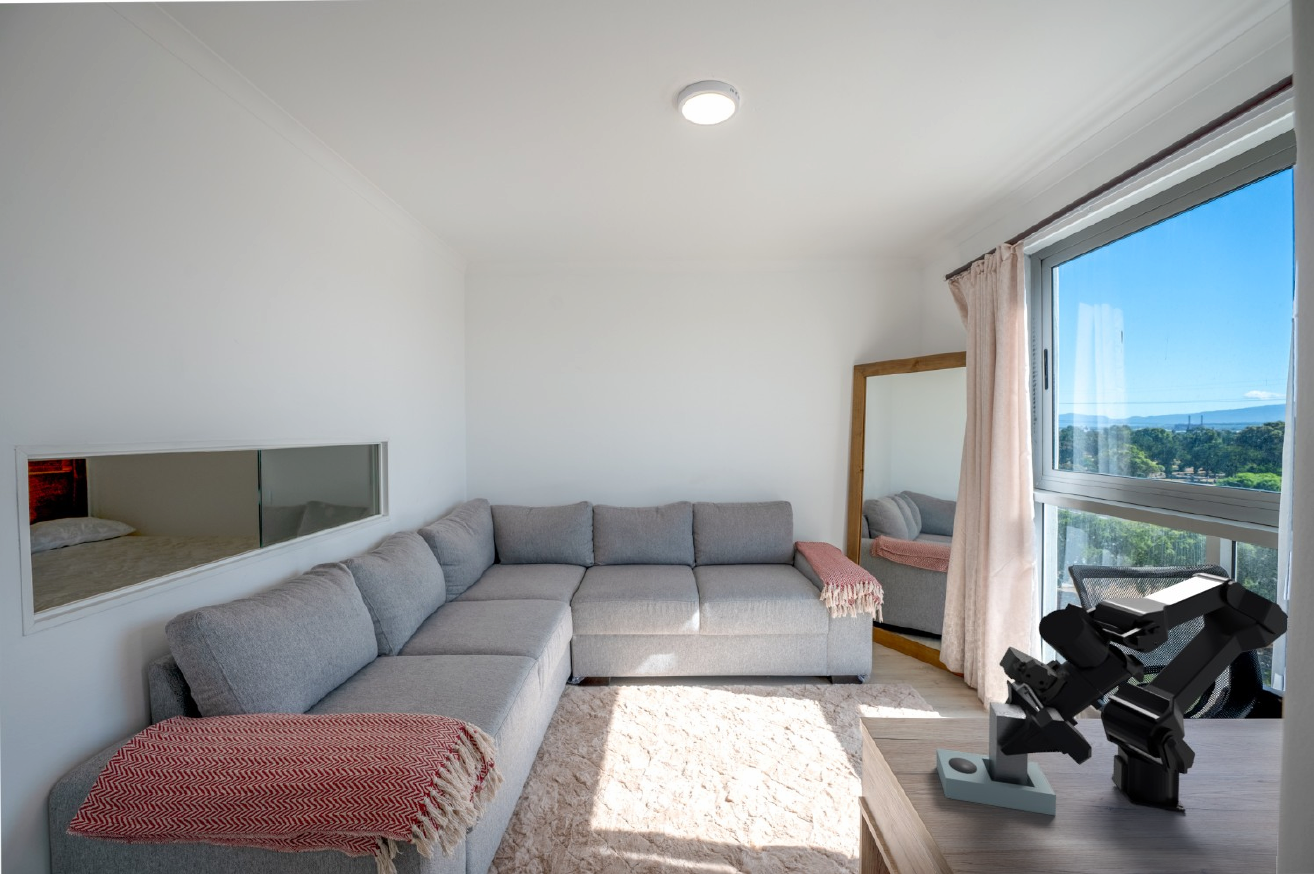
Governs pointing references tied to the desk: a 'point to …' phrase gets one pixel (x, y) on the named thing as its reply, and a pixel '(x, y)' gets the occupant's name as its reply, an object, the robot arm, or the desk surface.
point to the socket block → (992, 783)
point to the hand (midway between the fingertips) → (997, 741)
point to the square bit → (1001, 728)
